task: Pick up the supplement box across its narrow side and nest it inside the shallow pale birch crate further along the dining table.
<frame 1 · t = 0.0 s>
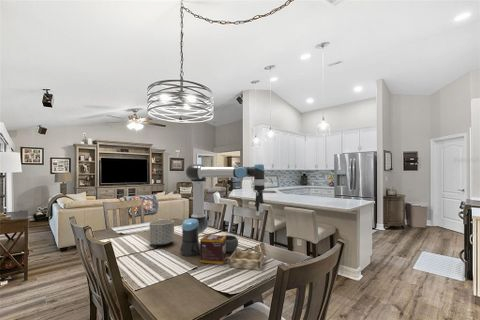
hand: (259, 213, 180), 28 cm above the table, fingers open, 13 cm apart
planter: (161, 244, 198), on the table
crate: (246, 263, 157), on the table
supplement box: (213, 260, 163), on the table
bowl: (228, 251, 182), on the table
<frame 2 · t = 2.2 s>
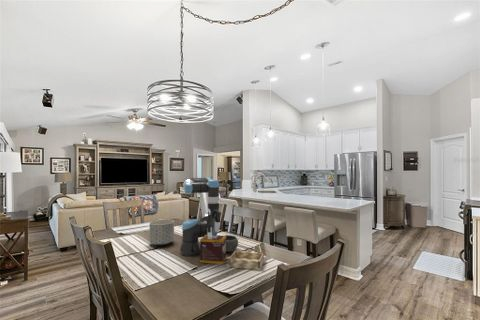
hand: (213, 234, 164), 17 cm above the table, fingers open, 13 cm apart
nothing on the table moved.
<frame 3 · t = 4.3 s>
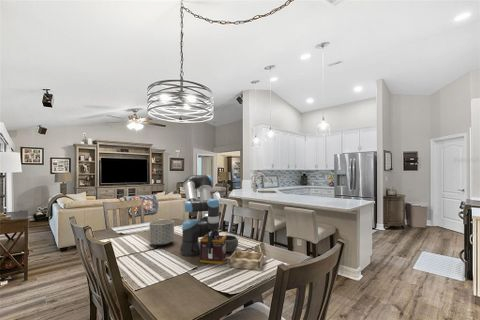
hand: (213, 255, 164), 3 cm above the table, fingers closed on supplement box, 10 cm apart
supplement box: (213, 260, 163), on the table, touching gripper
everything else where it was.
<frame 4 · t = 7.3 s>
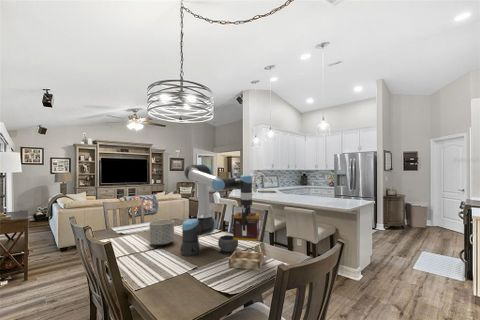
hand: (246, 233, 158), 20 cm above the table, fingers closed on supplement box, 10 cm apart
supplement box: (246, 238, 158), point 16 cm above the table, touching gripper
everything else where it was.
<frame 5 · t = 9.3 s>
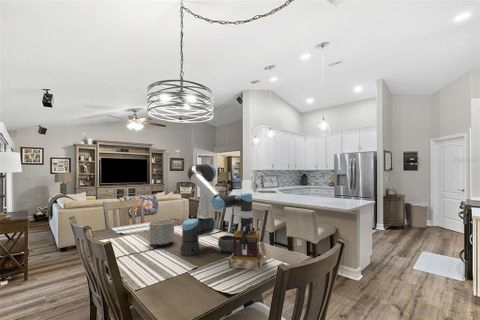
hand: (246, 251, 158), 8 cm above the table, fingers closed on supplement box, 10 cm apart
supplement box: (246, 256, 158), point 4 cm above the table, touching gripper
everything else where it was.
when the fingers open (7 cm above the table, at t = 10.6 s): supplement box drops 2 cm, resting on crate.
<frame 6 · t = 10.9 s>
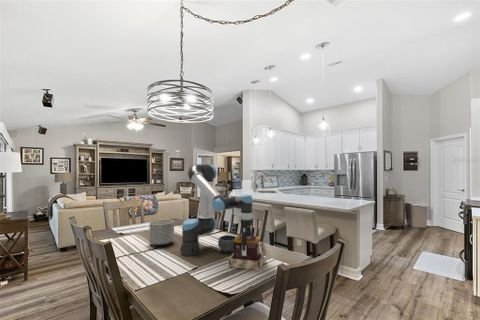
hand: (246, 251, 158), 8 cm above the table, fingers open, 13 cm apart
supplement box: (246, 262, 158), point 1 cm above the table, touching crate
everything else where it was.
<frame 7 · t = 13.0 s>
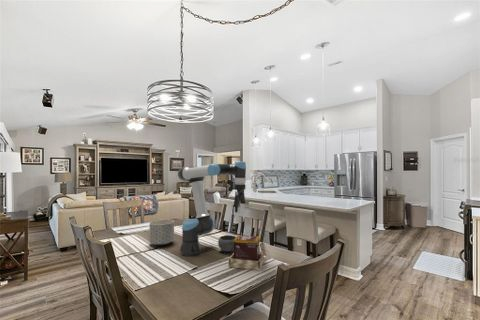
hand: (239, 214, 167), 30 cm above the table, fingers open, 13 cm apart
nothing on the table moved.
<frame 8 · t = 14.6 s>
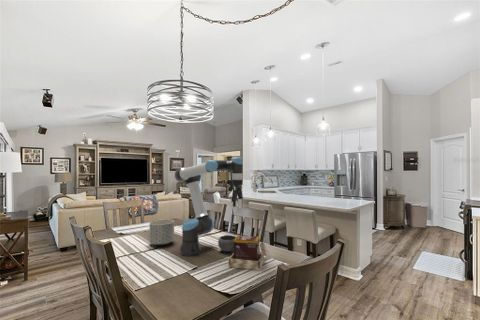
hand: (237, 209, 170), 33 cm above the table, fingers open, 13 cm apart
nothing on the table moved.
at the end: supplement box 0.3 cm off-centre on the crate, point 0.8 cm above the crate's base; supplement box tilted 0°; the gripper is holding nothing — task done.
